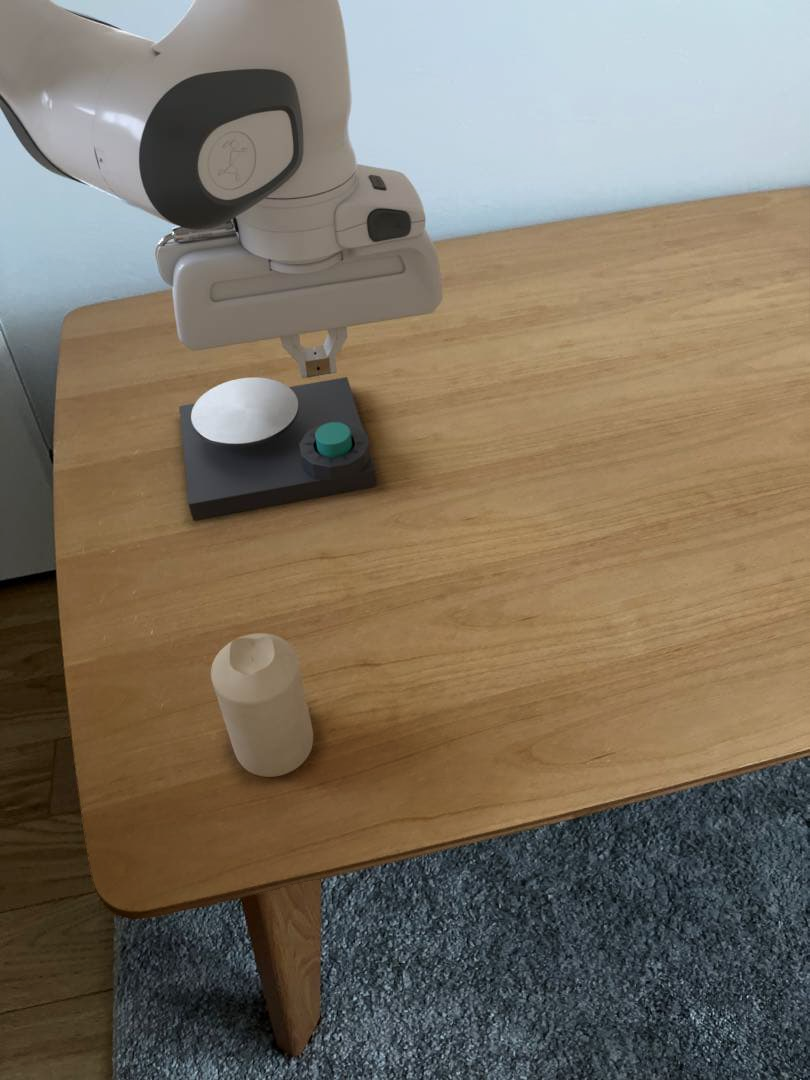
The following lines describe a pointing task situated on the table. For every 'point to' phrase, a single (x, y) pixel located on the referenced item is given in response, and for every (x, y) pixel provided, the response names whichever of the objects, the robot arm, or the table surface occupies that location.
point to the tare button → (333, 439)
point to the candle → (263, 703)
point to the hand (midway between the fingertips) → (317, 371)
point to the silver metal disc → (244, 412)
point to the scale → (278, 458)
